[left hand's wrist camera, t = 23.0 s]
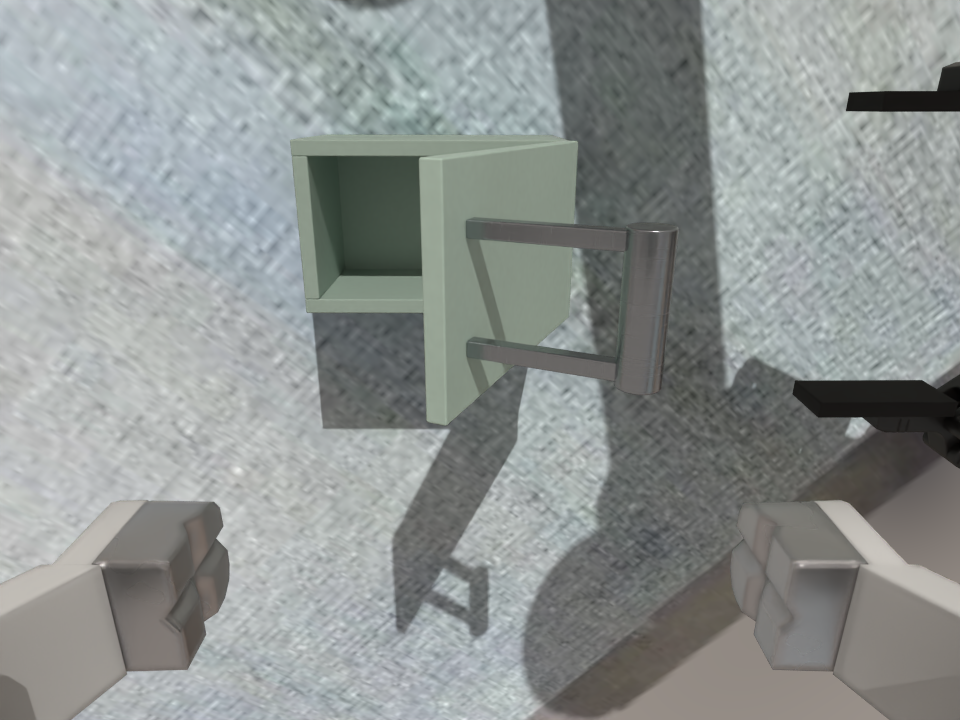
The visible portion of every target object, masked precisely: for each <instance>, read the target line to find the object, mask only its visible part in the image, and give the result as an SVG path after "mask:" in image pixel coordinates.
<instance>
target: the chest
mask: <svg viewBox="0 0 960 720" xmlns="http://www.w3.org/2000/svg"><path fill="white" fill-rule="evenodd" d="M556 141H568V140H565V139H562V138H559V137H556V136H552V135H320V136H313V137H306V138H299V139H292V140H290V143H291V154H292V163H293V174H294V184H295V195H296V205H297V216H298V226H299V237H300V248H301V258H302V269H303V279H304V290H305V298H306V311H307V313H423V285H422V251H421V217H420V183H419V158H421V157H427V156H436V155H444V154H453V153H462V152H470V151H479V150H488V149H496V148H505V147H513V146H522V145H531V144H539V143H548V142H556Z"/></svg>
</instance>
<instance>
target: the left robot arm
mask: <svg viewBox="0 0 960 720" xmlns="http://www.w3.org/2000/svg"><path fill="white" fill-rule="evenodd" d="M222 528H223V521H222V516H221V511H220V507H219V506H218V505H217V504H216V503H215V502H196V501H148V500H127V501H116V502H112V503H111V504H110V505H109V506H108V507H107V508H106V509H105V510H104V511H103V512H102V513H101V514H100V515H99V516H98V517H97V518H96V519H95V520H94V521H93V522H92V523H91V524H90V525H89V526H88V528H87V529H86V530H85V531H84V532H83V533H82V534H81V535H80V536H79V537H78V538H77V539H76V540H75V541H74V542H73V543H72V544H71V545H70V546H69V547H68V548H67V549H66V550H65V551H64V553H63V554H62V555H61V556H60V557H59V558H58V559H57V560H56V561H55V562H54V563H53V564H52V565H39V566H37V567H35V568H33V569H31V570H29V571H27V572H24V573H22V574H20V575H18V576H16V577H14V578H12V579H9V580H7V581H5V582H3V583H1V584H0V720H71V719H73V718H74V717H75V716H76V715H77V714H79V713H80V712H81V711H82V710H84V709H85V708H86V707H87V706H89V705H90V704H91V703H92V702H94V701H95V700H96V699H97V698H98V697H100V696H101V695H102V694H103V693H105V692H106V691H107V690H108V689H110V688H111V687H112V686H113V685H115V684H116V683H117V682H118V681H120V680H121V679H122V678H123V677H124V676H126V675H127V672H126V671H158V670H187V669H188V668H189V666H190V664H191V662H192V660H193V658H194V656H195V654H196V653H197V651H198V649H199V647H200V645H201V643H202V641H203V640H204V638H205V636H206V630H205V625H204V621H206V620H207V619H209V618H210V617H212V616H213V615H215V614H216V613H217V612H218V611H219V609H220V607H221V605H222V603H223V601H224V599H225V596H226V591H227V587H228V582H229V557H228V550H227V549H226V548H225V547H224V546H223V545H222V544H221V543H220V542H219V541H218V540H217V539H216V537H217V536H218V534H219V533H220V531H221V529H222ZM737 528H738V529H739V531H740V533H741V534H742V536H743V538H744V539H743V540H742V541H741V542H740V543H739V544H738V545H737V546H736V547H735V548H734V549H733V550H732V558H731V566H730V572H731V582H732V589H733V592H734V595H735V599H736V601H737V603H738V605H739V607H740V609H741V611H742V612H743V613H744V614H745V615H747V616H748V617H750V618H751V619H753V620H754V621H756V625H755V630H754V636H755V638H756V640H757V641H758V643H759V645H760V647H761V649H762V651H763V653H764V654H765V656H766V658H767V660H768V662H769V664H770V666H771V667H772V669H773V670H802V671H834V672H833V675H835V676H836V677H837V678H838V679H840V680H841V681H842V682H843V683H844V684H846V685H847V686H848V687H849V688H851V689H852V690H853V691H854V692H856V693H857V694H858V695H859V696H861V697H862V698H863V699H864V700H865V701H867V702H868V703H869V704H870V705H872V706H873V707H874V708H875V709H877V710H878V711H879V712H880V713H882V714H883V715H884V716H885V717H886V718H888V719H889V720H960V584H959V583H957V582H955V581H953V580H950V579H948V578H946V577H944V576H942V575H940V574H938V573H936V572H933V571H931V570H929V569H927V568H925V567H923V566H921V565H908V564H907V563H906V562H905V561H904V560H903V559H902V558H901V557H900V556H899V555H898V554H897V553H896V551H895V550H894V549H893V548H892V547H891V546H890V545H889V544H888V543H887V542H886V541H885V540H884V539H883V538H882V537H881V536H880V535H879V534H878V533H877V532H876V531H875V530H874V528H873V527H872V526H871V525H870V524H869V523H868V522H867V521H866V520H865V519H864V518H863V517H862V516H861V515H860V514H859V513H858V512H857V511H856V510H855V509H854V508H853V507H852V506H851V504H849V503H847V502H845V501H842V500H826V501H806V502H763V503H743V505H742V507H741V509H740V511H739V515H738V520H737Z"/></svg>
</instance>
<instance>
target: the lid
mask: <svg viewBox="0 0 960 720" xmlns="http://www.w3.org/2000/svg"><path fill="white" fill-rule="evenodd" d="M577 155H578V141H556V142H548V143H539V144H531V145H522V146H513V147H505V148H496V149H488V150H479V151H470V152H462V153H453V154H444V155H436V156H427V157H421V158H419V183H420V217H421V251H422V285H423V319H424V353H425V387H426V420H427V422H429V423H434V424H439V425H444V426H447V425H448V424H449V423H450V422H451V421H453V420H454V419H455V418H456V417H457V416H458V415H459V414H460V413H462V412H463V411H464V410H465V409H466V408H467V407H468V406H469V405H470V404H472V403H473V402H474V401H475V400H476V399H477V398H478V397H479V396H481V395H482V394H483V393H484V392H485V391H486V390H487V389H488V388H490V387H491V386H492V385H493V384H494V383H495V382H496V381H497V380H499V379H500V378H501V377H502V376H503V375H504V374H505V373H506V372H508V371H509V370H510V369H511V368H512V367H513V366H514V365H517V366H523V367H529V368H535V369H542V370H548V371H554V372H560V373H566V374H572V375H579V376H585V377H591V378H597V379H603V380H609V381H614V386H615V387H616V388H617V389H619V390H621V391H623V392H626V393H630V394H636V395H649V394H654V393H657V392H659V391H660V390H661V388H662V381H663V372H664V362H665V353H666V344H667V335H668V326H669V317H670V307H671V298H672V289H673V280H674V271H675V262H676V253H677V243H678V234H679V228H678V227H677V226H674V225H670V224H664V223H632V224H629V225H627V226H626V228H622V227H608V226H594V225H580V224H574V212H575V193H576V174H577ZM573 248H584V249H596V250H608V251H620V252H624V260H623V272H622V284H621V297H620V309H619V322H618V334H617V346H616V357H609V356H602V355H596V354H589V353H582V352H575V351H569V350H562V349H555V348H548V347H541V346H537V345H538V344H539V343H540V342H541V341H542V340H543V339H545V338H546V337H547V336H548V335H549V334H550V333H551V332H552V331H553V330H555V329H556V328H557V327H558V326H559V325H560V324H561V323H562V322H564V321H565V320H566V319H567V318H568V317H569V307H570V288H571V269H572V250H573Z"/></svg>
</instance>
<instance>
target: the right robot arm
mask: <svg viewBox="0 0 960 720" xmlns="http://www.w3.org/2000/svg"><path fill="white" fill-rule="evenodd" d="M846 111H879V112H921V111H960V62H955V63H953V64H950V65H948V66H945V67H943V68H942V72H941V77H940V81H939V85H938V89H937V91H880V92H852V93H849V98H848V103H847V108H846ZM793 395H794V396H795V397H796V398H797V399H798V400H800V401H801V402H802V403H803V404H804V405H805V406H806V407H807V408H808V409H810V410H811V411H812V412H813V413H814V414H815V415H816V416H817V417H863V418H864V419H865V420H866V421H868V422H869V423H870V424H871V425H873V426H874V427H875V428H876V429H879V430H881V431H884V432H924V434H923V441H924V443H925V444H927V445H928V446H929V447H931V448H932V449H933V450H935V451H936V452H937V453H939V454H940V455H941V456H943V457H944V458H945V459H947V460H948V461H949V462H951V463H952V464H953V465H955V466H956V467H958V468H960V375H958V376H957V377H955V378H953V379H952V380H950V381H949V382H947V383H946V384H944V385H943V386H941V387H939V388H938V389H935V388H934V387H932V386H931V385H929V384H927V383H926V382H924V381H922V380H862V381H795V384H794V389H793Z"/></svg>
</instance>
